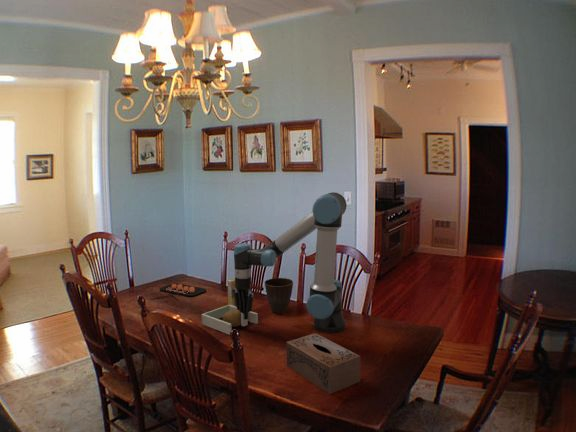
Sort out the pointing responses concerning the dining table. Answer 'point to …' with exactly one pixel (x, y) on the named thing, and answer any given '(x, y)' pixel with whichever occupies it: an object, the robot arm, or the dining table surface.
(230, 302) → the candy box
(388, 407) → the dining table surface
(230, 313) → the potato
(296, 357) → the tissue box cover
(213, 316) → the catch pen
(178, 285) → the sushi plate
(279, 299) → the plant pot
